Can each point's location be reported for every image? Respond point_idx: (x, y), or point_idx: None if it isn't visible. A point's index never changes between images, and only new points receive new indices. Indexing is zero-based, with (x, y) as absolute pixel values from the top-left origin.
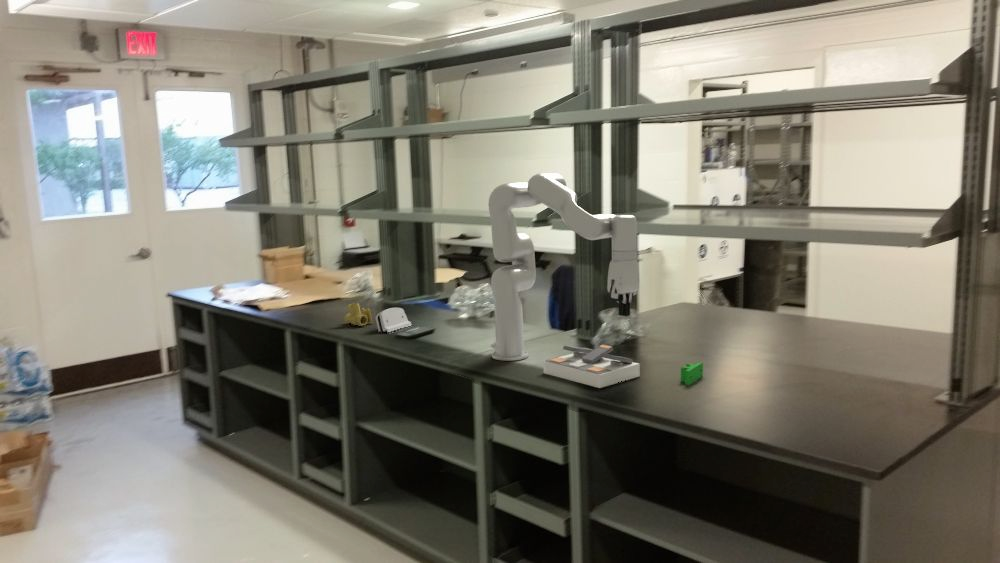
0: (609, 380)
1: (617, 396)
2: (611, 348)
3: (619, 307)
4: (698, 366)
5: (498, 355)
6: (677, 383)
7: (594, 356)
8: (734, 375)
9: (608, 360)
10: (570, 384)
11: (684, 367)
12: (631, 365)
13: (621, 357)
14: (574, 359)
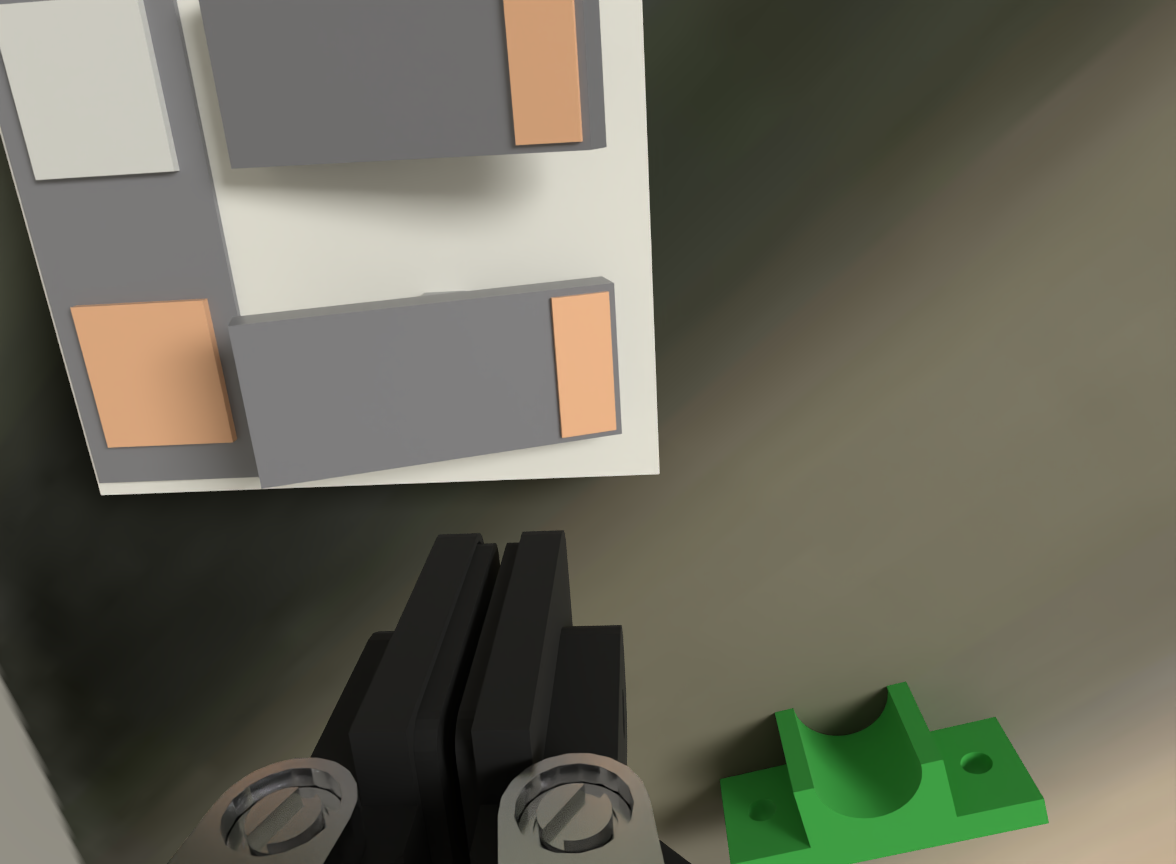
0: None
1: (155, 660)
2: (569, 149)
3: (339, 719)
4: (940, 837)
5: None
6: (709, 729)
7: (301, 126)
8: (1172, 856)
9: (513, 161)
10: (12, 203)
11: (805, 814)
12: (548, 467)
13: (432, 461)
14: None
